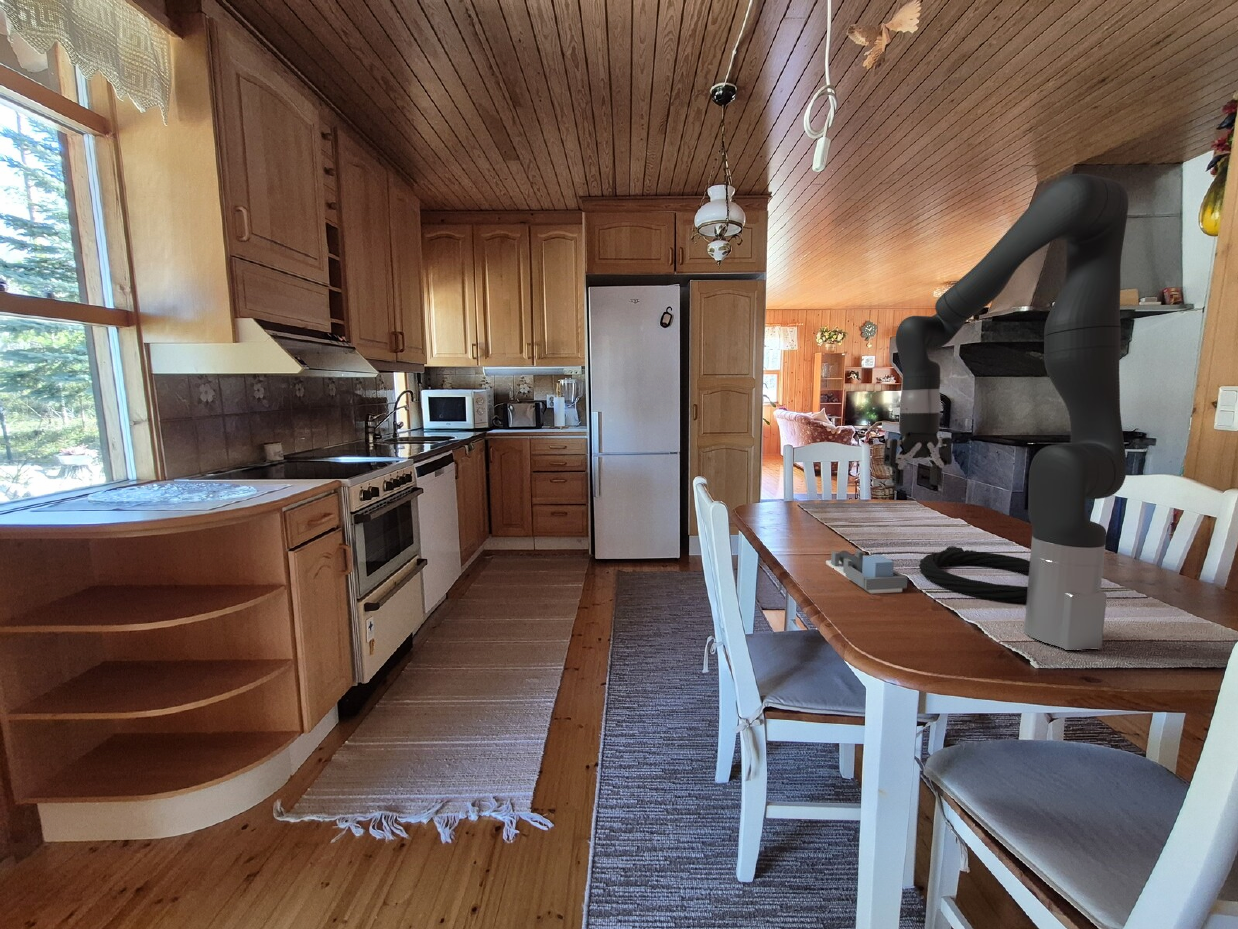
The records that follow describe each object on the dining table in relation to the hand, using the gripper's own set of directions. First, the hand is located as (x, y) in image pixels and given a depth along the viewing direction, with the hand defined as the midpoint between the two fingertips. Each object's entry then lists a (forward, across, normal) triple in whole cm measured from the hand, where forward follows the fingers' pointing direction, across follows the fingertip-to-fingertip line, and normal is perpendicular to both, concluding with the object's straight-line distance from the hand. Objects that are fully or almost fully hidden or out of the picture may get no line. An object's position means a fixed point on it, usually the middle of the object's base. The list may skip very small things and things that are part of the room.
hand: (916, 485), depth 113 cm
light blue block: (+21, -9, +4) cm, 23 cm away
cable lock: (+22, +17, -1) cm, 28 cm away
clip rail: (+22, -9, +6) cm, 24 cm away
